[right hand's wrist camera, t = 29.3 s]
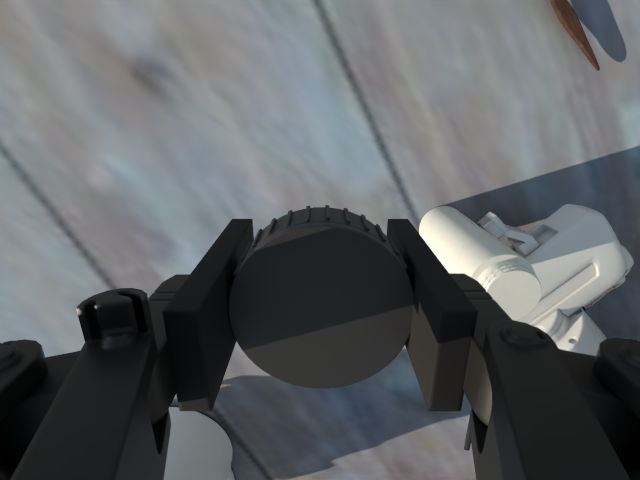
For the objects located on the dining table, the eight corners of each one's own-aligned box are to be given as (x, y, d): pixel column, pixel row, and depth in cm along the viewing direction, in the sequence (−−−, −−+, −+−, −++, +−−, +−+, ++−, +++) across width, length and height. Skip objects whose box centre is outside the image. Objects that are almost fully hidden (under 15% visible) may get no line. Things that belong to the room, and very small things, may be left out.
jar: (458, 198, 37) (542, 253, 23) (469, 239, 38) (555, 313, 24) (413, 215, 38) (469, 278, 24) (426, 255, 39) (486, 336, 25)
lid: (240, 348, 13) (227, 386, 11) (237, 198, 11) (221, 216, 9) (392, 356, 13) (403, 395, 11) (415, 209, 11) (433, 229, 9)
